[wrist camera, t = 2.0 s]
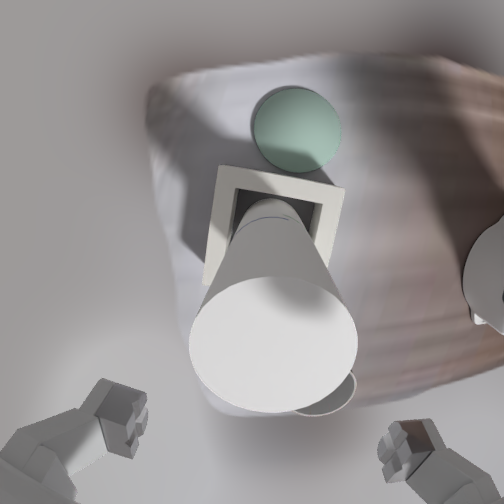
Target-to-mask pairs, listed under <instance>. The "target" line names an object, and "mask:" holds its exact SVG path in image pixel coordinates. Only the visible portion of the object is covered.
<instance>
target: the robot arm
mask: <svg viewBox="0 0 504 504" xmlns="http://www.w3.org/2000/svg"><path fill="white" fill-rule="evenodd" d="M463 291H464V295H465V298H466V301H467V302H468V304H469V306H470V308H471V319H472V322H473V323H475V324H477V325H478V324H484V323H488V324H489V325H490V326H492V327H493V328H494V329H495V330H497V331H498V332H499V333H501V334H502V335H504V215H503V216H502V218H501V219H500V220H499V222H497V223H496V224H495V225H493V226H491V227H489V228H488V229H487V230H485V231H484V232H483V233H482V234H481V235H480V236H479V238H478V239H477V240H476V242H475V244H474V245H473V247H472V249H471V251H470V253H469V255H468V258H467V261H466V264H465V268H464V274H463ZM146 401H147V396H146V393H145V392H143V391H140V390H137V389H134V388H131V387H128V386H125V385H122V384H119V383H115V382H113V381H110V380H107V379H104V378H102V379H100V380H99V381H98V382H97V384H96V385H95V387H94V388H93V389H92V391H91V392H90V394H89V395H88V397H87V398H86V400H85V401H84V402H83V404H82V405H81V407H80V408H79V409H76V408H74V409H71V410H69V411H66V412H64V413H61V414H58V415H56V416H53V417H50V418H47V419H45V420H42V421H39V422H37V423H34V424H31V425H28V426H25V427H22V428H20V429H17V431H16V432H15V433H14V434H13V436H12V437H11V439H10V440H9V441H8V442H7V444H6V445H5V446H4V448H3V449H2V450H1V452H0V504H79V503H77V502H75V501H74V499H75V497H76V495H77V493H78V492H77V489H76V487H75V486H74V484H73V483H72V481H71V480H70V478H69V476H71V475H72V474H74V473H76V472H78V471H79V470H81V469H83V468H84V467H86V466H88V465H89V464H91V463H92V462H94V461H96V460H97V459H99V458H100V457H102V456H103V455H105V454H107V453H108V452H111V453H114V454H118V455H120V456H124V457H127V458H130V459H133V457H134V455H135V453H136V450H137V448H138V446H139V442H138V437H139V436H141V435H143V434H144V431H145V428H146V425H147V420H148V409H147V408H146V407H145V403H146ZM388 429H389V433H387V434H386V435H384V436H383V437H382V439H381V440H380V442H379V444H378V449H377V451H378V457H379V460H380V461H381V462H382V463H383V464H384V466H383V468H382V471H383V475H384V478H385V481H386V483H393V482H401V481H406V483H407V484H408V485H409V486H410V487H411V488H412V489H413V490H414V491H415V492H416V493H417V494H418V495H419V496H420V497H421V498H422V499H423V500H424V501H425V502H426V503H427V504H504V497H502V498H501V496H500V494H499V492H498V490H497V488H496V486H495V484H494V482H493V480H492V478H491V476H490V475H489V474H488V473H486V472H484V471H483V470H481V469H480V468H478V467H477V466H475V465H474V464H472V463H471V462H469V461H468V460H466V459H465V458H464V457H462V456H461V455H459V454H458V453H456V452H454V451H453V450H452V449H450V448H448V449H447V448H446V446H445V444H444V442H443V440H442V438H441V436H440V434H439V432H438V430H437V428H436V426H435V425H434V422H433V421H432V420H431V419H418V420H405V421H394V422H393V423H392V424H391V425H390V426H389V428H388Z"/></svg>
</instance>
